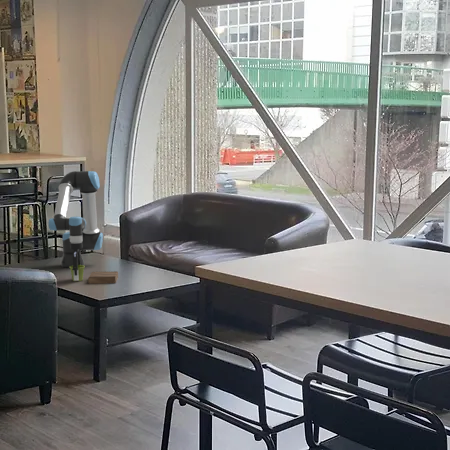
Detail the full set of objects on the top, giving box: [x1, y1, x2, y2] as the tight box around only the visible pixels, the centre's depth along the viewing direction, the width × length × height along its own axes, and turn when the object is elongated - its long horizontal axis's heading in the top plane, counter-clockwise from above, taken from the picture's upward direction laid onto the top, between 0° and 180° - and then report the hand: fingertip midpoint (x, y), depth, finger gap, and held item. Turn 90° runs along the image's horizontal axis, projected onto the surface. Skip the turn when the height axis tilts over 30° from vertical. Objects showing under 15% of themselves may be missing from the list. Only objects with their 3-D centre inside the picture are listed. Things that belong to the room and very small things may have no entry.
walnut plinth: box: [88, 270, 119, 285], centre depth 428 cm, size 16×16×4 cm
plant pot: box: [69, 264, 86, 282], centre depth 429 cm, size 9×9×9 cm
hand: (77, 278), depth 429 cm, fingers closed on plant pot, 9 cm apart
